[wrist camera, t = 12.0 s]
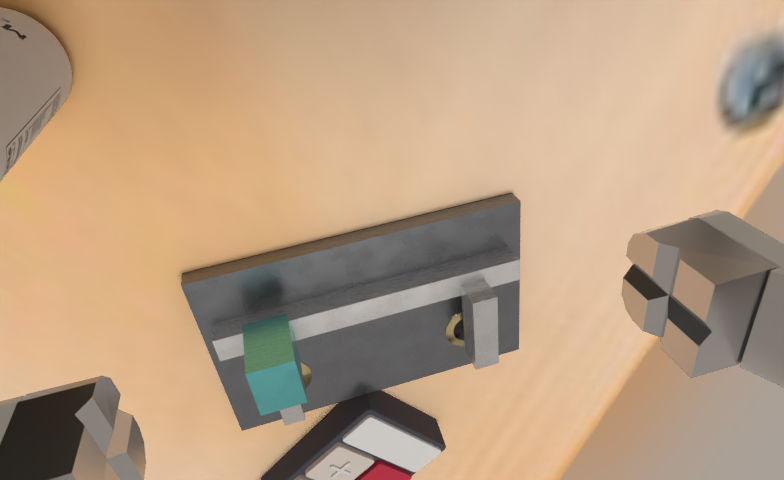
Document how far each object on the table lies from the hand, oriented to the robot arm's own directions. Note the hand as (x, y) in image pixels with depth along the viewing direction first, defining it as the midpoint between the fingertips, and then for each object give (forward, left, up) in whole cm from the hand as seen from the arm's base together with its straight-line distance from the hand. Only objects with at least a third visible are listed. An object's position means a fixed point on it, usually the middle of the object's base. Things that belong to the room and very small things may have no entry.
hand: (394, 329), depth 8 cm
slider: (+5, +23, -27) cm, 36 cm away
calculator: (+1, +41, -30) cm, 50 cm away
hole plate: (-3, +24, -29) cm, 38 cm away
